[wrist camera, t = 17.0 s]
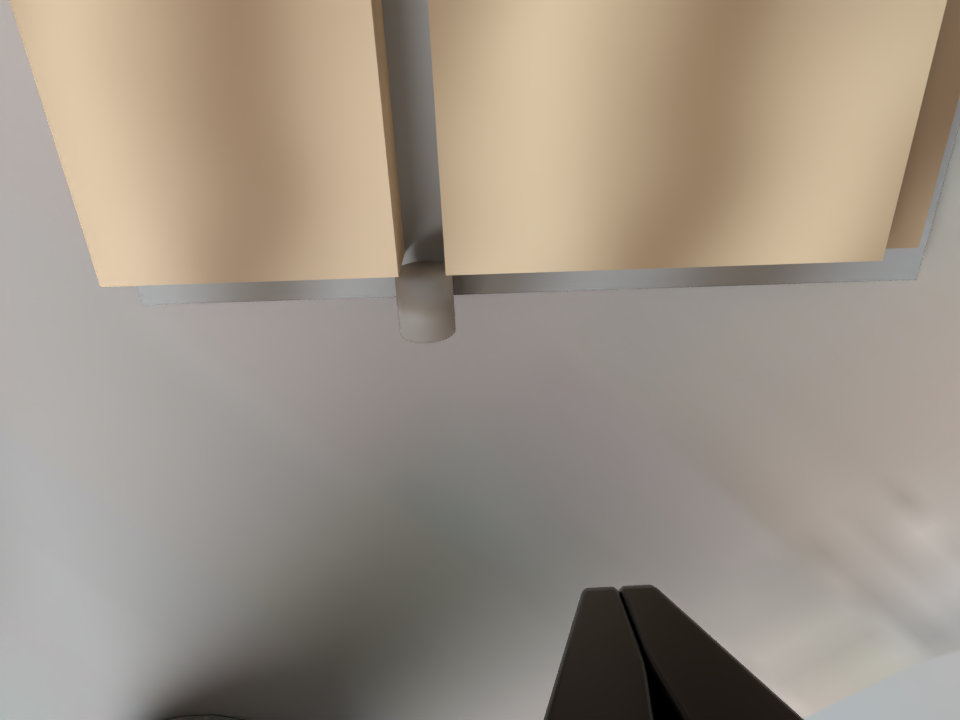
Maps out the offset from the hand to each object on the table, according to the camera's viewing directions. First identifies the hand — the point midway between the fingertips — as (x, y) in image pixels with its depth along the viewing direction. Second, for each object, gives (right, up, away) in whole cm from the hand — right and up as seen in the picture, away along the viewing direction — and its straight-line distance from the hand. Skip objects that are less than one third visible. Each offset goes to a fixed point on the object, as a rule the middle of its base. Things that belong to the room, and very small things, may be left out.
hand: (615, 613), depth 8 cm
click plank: (+3, +10, +7) cm, 13 cm away
